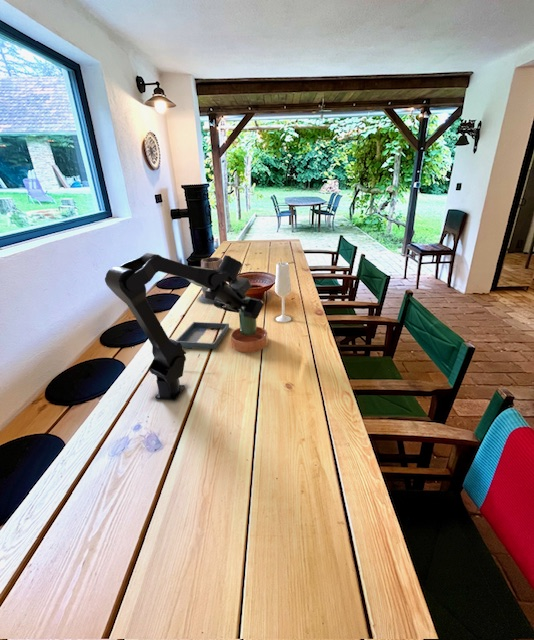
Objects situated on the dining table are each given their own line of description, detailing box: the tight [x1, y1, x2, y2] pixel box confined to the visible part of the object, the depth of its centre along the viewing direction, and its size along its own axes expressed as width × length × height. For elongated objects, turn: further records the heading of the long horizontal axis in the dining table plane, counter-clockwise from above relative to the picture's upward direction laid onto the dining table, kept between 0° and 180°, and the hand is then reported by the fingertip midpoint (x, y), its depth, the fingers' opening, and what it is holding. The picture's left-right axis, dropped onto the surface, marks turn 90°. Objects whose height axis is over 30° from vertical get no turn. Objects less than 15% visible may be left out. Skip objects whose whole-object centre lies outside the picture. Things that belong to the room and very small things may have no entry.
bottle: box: [238, 296, 258, 336], centre depth 113 cm, size 6×6×13 cm
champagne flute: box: [274, 262, 292, 323], centre depth 133 cm, size 7×7×24 cm
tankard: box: [199, 256, 227, 305], centre depth 163 cm, size 24×17×20 cm
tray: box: [175, 321, 230, 350], centre depth 124 cm, size 17×15×2 cm
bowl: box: [229, 325, 269, 353], centre depth 117 cm, size 13×13×4 cm
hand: (250, 314), depth 114 cm, fingers closed on bottle, 6 cm apart
